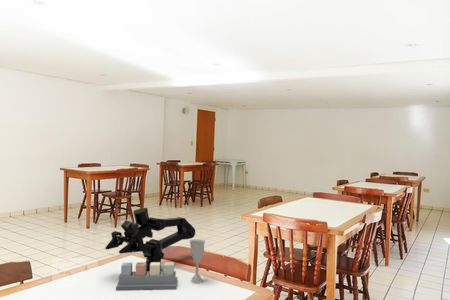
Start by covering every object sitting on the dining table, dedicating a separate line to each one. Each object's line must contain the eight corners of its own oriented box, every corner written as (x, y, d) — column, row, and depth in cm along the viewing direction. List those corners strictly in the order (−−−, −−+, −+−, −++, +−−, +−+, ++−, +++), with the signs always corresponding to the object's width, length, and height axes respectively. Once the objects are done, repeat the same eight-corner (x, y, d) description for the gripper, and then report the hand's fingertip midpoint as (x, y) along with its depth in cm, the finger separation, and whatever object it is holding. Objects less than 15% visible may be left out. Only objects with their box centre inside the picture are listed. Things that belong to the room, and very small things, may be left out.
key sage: (173, 274, 162) (173, 262, 162) (173, 277, 158) (173, 265, 158) (164, 274, 162) (164, 262, 162) (163, 277, 158) (164, 265, 158)
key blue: (132, 275, 161) (132, 262, 161) (130, 278, 157) (130, 265, 157) (122, 275, 161) (123, 262, 160) (121, 278, 157) (121, 265, 156)
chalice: (207, 279, 167) (208, 240, 166) (200, 285, 161) (200, 244, 160) (193, 277, 170) (194, 238, 169) (185, 282, 164) (186, 241, 163)
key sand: (160, 274, 162) (160, 262, 162) (159, 278, 158) (159, 265, 158) (150, 274, 162) (150, 262, 161) (149, 278, 158) (149, 265, 157)
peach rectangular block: (146, 274, 161) (146, 262, 161) (145, 278, 157) (145, 265, 157) (136, 275, 161) (137, 262, 161) (135, 278, 157) (135, 265, 157)
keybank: (177, 280, 166) (177, 269, 166) (176, 289, 156) (176, 277, 156) (120, 281, 163) (120, 270, 163) (115, 290, 154) (116, 278, 153)
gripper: (122, 214, 173) (94, 230, 161) (149, 220, 162) (122, 237, 150) (127, 236, 176) (100, 252, 164) (154, 243, 165) (128, 261, 153)
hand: (112, 250), depth 158 cm, fingers open, 9 cm apart
